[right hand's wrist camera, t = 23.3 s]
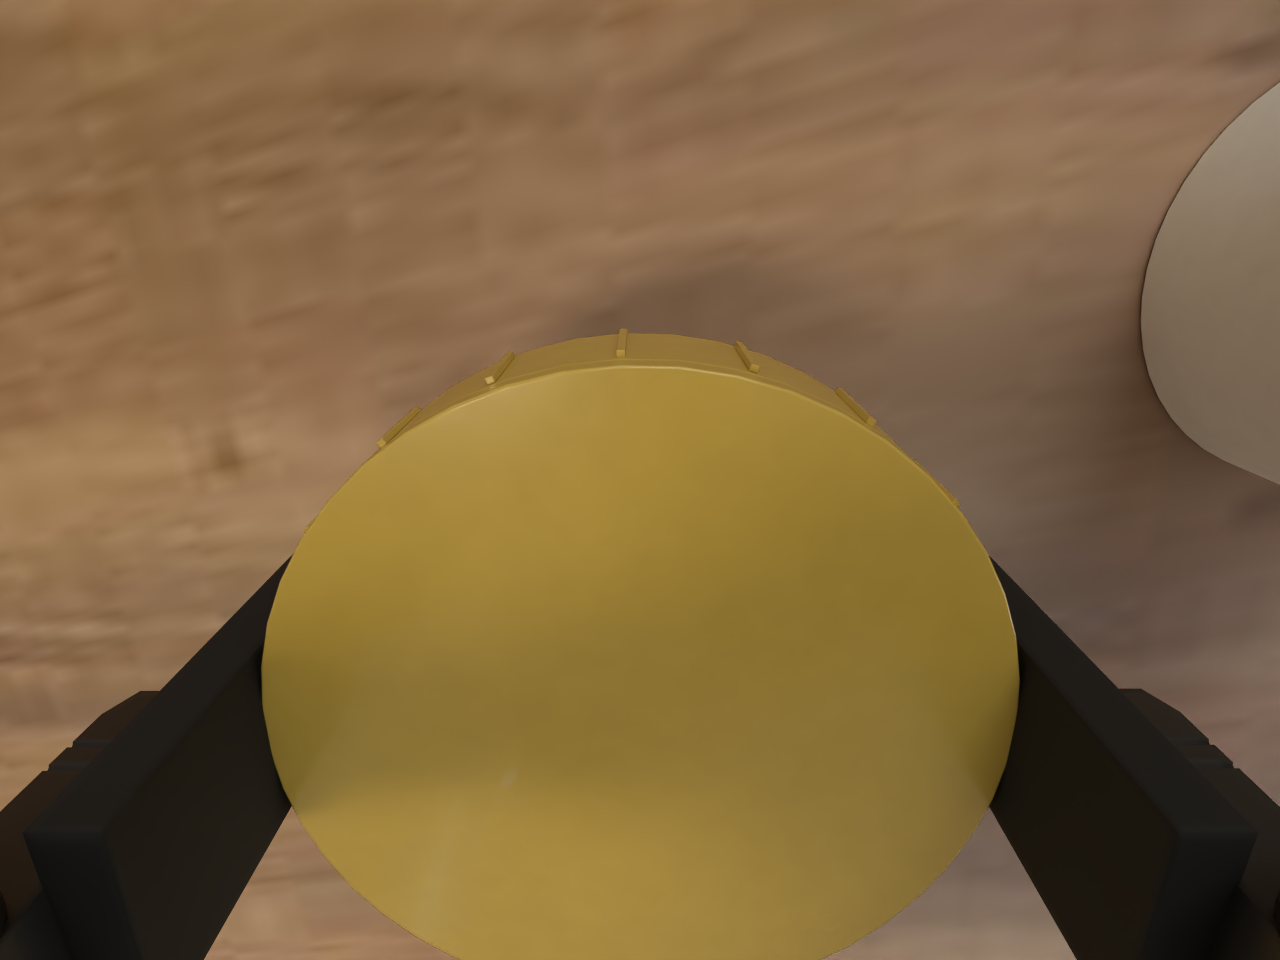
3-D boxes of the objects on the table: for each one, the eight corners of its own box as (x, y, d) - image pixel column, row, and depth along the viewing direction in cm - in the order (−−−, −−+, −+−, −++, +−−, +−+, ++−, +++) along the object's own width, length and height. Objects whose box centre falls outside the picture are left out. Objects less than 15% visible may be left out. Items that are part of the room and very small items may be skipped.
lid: (200, 663, 13) (112, 755, 11) (614, 166, 10) (608, 158, 8) (656, 964, 15) (659, 1088, 13) (1087, 629, 12) (1179, 717, 10)
